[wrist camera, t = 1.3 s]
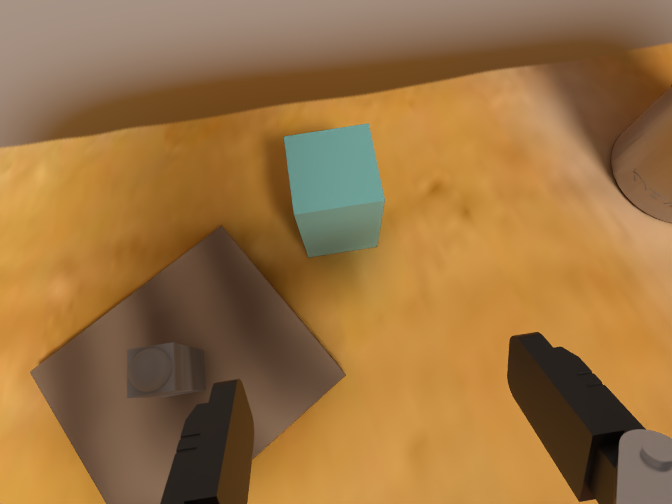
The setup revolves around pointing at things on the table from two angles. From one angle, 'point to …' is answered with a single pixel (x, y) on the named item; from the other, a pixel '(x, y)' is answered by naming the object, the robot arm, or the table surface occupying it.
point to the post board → (195, 321)
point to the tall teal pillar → (335, 189)
